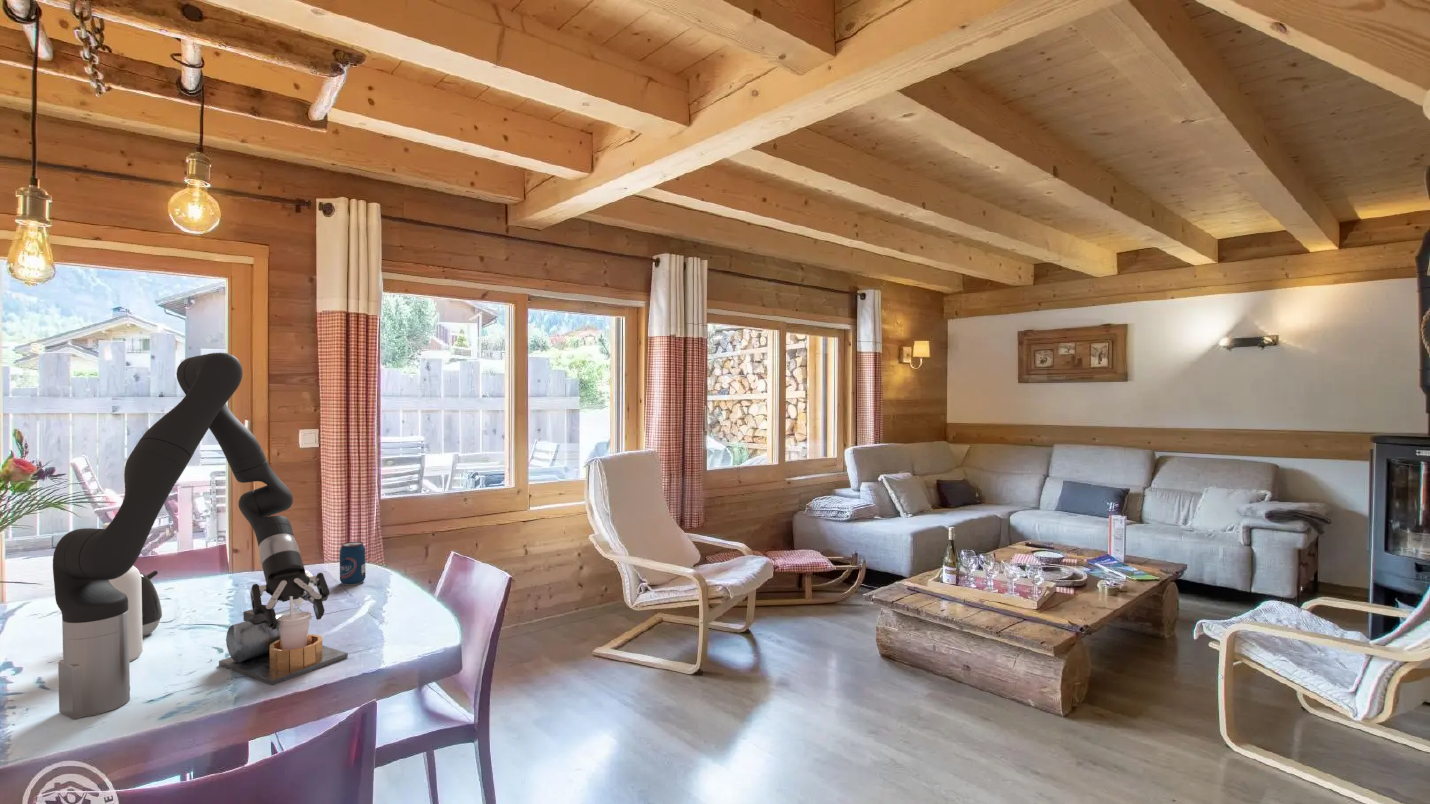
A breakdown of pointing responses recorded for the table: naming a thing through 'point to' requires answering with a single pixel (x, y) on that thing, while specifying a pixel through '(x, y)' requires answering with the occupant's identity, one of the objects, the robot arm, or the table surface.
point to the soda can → (352, 563)
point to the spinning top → (300, 600)
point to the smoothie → (294, 628)
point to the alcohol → (132, 606)
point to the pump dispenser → (150, 604)
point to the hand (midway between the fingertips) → (298, 622)
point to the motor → (273, 651)
